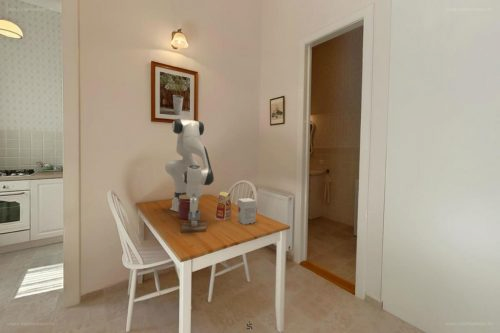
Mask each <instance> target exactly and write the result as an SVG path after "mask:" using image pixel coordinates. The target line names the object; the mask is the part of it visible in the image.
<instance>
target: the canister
mask: <svg viewBox="0 0 500 333" xmlns="http://www.w3.org/2000/svg"><path fill="white" fill-rule="evenodd" d="M179 198H180V199H179V200H178V202H179V205H178V213H177V214H178V215H177V216H178V219H180V220H188V213H189V210H190V199H189V196H187V193H186V194H184V195H182V196H180V197H179Z"/></svg>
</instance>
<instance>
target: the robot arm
mask: <svg viewBox="0 0 500 333" xmlns="http://www.w3.org/2000/svg"><path fill="white" fill-rule="evenodd" d="M171 128H172V132H173V133H174V134H176V135H177V140H176V147H175V148H176V150H175V151H176V153H177V154H178V155H179V156H180V157H182V159H173V160H168V161H166V163H165V165H164V169H165V171H166V173H167V174H168V175H169V176H170V177H171V178H172V179H173V182H174V193H173V196H174V198H172V200H171V202H172V203H171V204H172V205H171V207H170V208H169V211H173V212H178V205H179V202H178V200H179V199H180V198H179V197H180V196H182V195H184V194H186V193H187V196H189V199H190V212H192V217H193V218H195V217H196V211H197V210H198V207H199V201H200V200H199V199H201V197H202V196H203V186H210V185H211V184H212V183H214V181H215V180H214V179H215V177H214V173H213V169H212V165H211V161H210V158H209V155H208V154H209V153H208V150H207V148H206V146H204V144H203V143H202V141H201V136H202V135H203V134H204V131H205V125H204V123H203V122H202V121H199V120H198V121H197V120H194V119H186V118H185V119H180V118H175V119H174V120H173V122H172V124H171ZM193 154H194V155H196V156H199V157H200V158H201V160H202V164H203V169H202V167H201V166H200V165H199V163H198V161H196V159H194V156H193Z"/></svg>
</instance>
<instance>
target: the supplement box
mask: <svg viewBox="0 0 500 333" xmlns="http://www.w3.org/2000/svg"><path fill="white" fill-rule="evenodd" d="M237 201H238V202H237V204H238V205H237V221H238V222H239V223H241V224H242V225H244V226H245V225H249V223H251V224H255V223H256V209H257V208H256V206H257V205H256V204H257V202H256V200H255V199H253V198H251V197H248V198H237ZM254 222H255V223H254Z"/></svg>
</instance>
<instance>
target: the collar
mask: <svg viewBox="0 0 500 333" xmlns="http://www.w3.org/2000/svg"><path fill="white" fill-rule="evenodd" d="M200 217H201V209H197V211H196V217H195V218H193V217H192V212H190V210H189V213H188V219H187V220H188V221H191V220H197V221H198V220H199V221H200V220H201V219H200Z"/></svg>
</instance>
